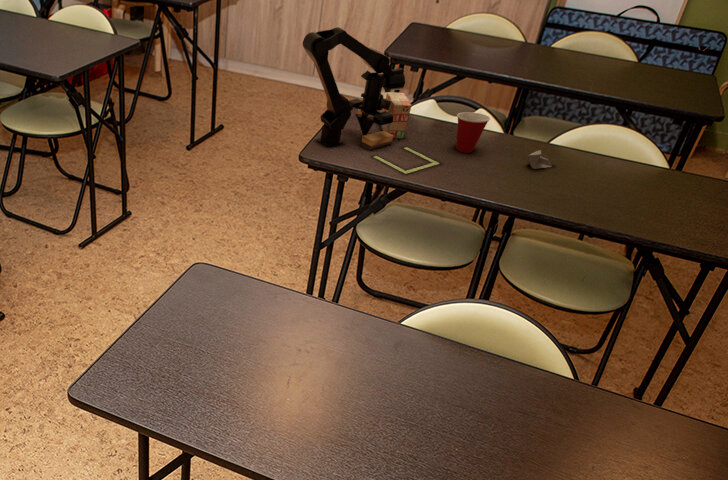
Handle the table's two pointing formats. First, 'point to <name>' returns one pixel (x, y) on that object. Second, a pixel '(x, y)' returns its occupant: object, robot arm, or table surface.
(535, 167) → the paper boat
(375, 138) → the chalkboard eraser
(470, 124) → the plastic cup
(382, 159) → the tape box
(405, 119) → the tan printed boxy piece
